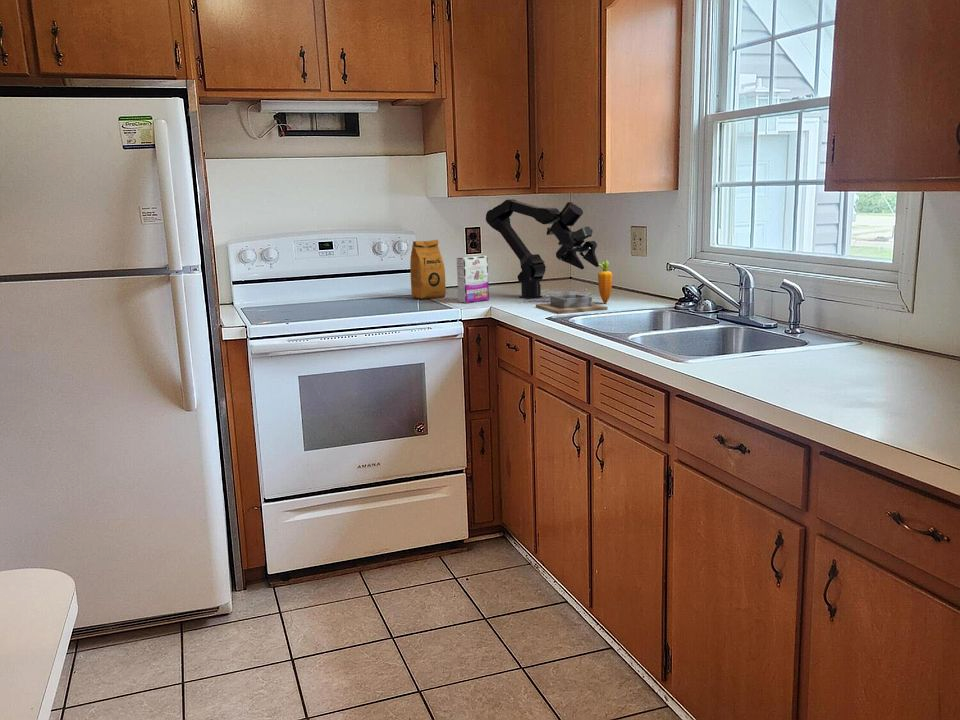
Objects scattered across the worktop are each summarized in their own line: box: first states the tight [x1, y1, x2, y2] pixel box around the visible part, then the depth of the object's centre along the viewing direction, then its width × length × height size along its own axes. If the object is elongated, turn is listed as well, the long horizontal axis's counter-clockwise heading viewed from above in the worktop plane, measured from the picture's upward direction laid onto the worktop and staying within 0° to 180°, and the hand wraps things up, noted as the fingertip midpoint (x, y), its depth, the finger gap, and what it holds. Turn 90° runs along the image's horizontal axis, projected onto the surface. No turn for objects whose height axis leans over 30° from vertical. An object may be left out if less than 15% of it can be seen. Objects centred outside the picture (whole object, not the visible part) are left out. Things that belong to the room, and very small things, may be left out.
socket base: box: [535, 293, 608, 315], centre depth 282 cm, size 18×18×4 cm
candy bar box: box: [455, 255, 490, 304], centre depth 305 cm, size 11×5×16 cm, turn 130°
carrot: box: [597, 260, 614, 304], centre depth 290 cm, size 5×5×15 cm
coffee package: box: [409, 239, 447, 300], centre depth 318 cm, size 10×12×22 cm
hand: (590, 267), depth 293 cm, fingers open, 9 cm apart
